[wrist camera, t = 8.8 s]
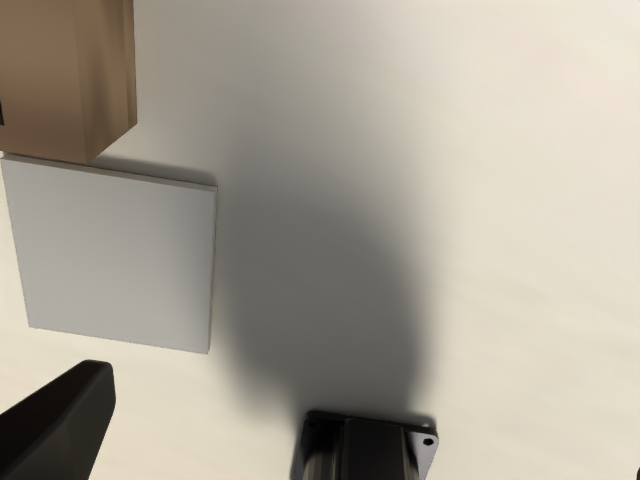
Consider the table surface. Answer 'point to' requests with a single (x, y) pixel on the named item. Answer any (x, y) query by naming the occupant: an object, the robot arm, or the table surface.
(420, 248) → the table surface
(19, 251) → the pad
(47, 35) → the socket block
